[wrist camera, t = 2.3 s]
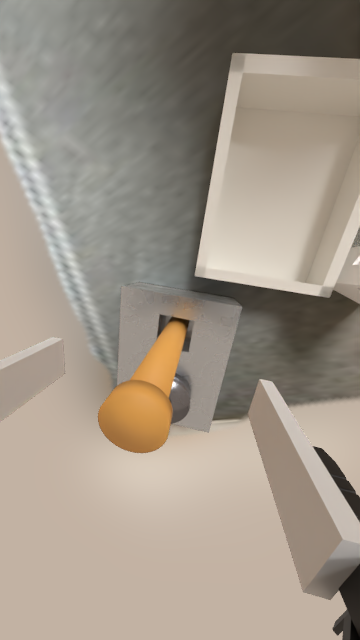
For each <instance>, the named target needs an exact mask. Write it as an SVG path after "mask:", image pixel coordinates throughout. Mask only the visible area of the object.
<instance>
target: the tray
mask: <svg viewBox="0 0 360 640" xmlns="http://www.w3.org/2000/svg"><path fill="white" fill-rule="evenodd" d="M359 227H360V59H349V58H328V57H308V56H287V55H267V54H246V53H232V59H231V65H230V71H229V76H228V82H227V88H226V94H225V100H224V106H223V112H222V118H221V124H220V129H219V135H218V141H217V147H216V153H215V159H214V165H213V171H212V176H211V182H210V188H209V194H208V200H207V206H206V212H205V218H204V224H203V229H202V235H201V241H200V247H199V253H198V259H197V265H196V271H195V276H197V277H203V278H209V279H215V280H222V281H228V282H234V283H240V284H246V285H252V286H259V287H265V288H271V289H277V290H283V291H290V292H296V293H302V294H308V295H314V296H321V297H327V298H330V296H331V293H332V291H333V289H334V286H335V284H336V281H337V279H338V277H339V274H340V272H341V270H342V267H343V265H344V262H345V260H346V258H347V255H348V253H349V251H350V248H351V246H352V243H353V241H354V239H355V236H356V234H357V232H358V229H359Z"/></svg>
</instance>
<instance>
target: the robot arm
mask: <svg viewBox="0 0 360 640" xmlns="http://www.w3.org/2000/svg"><path fill="white" fill-rule="evenodd" d="M64 374H65V364H64V347H63V339H61V338H55V337H52V338H49V339H47V340H45V341H43V342H40V343H38V344H36V345H33V346H31V347H29V348H27V349H24V350H22V351H20V352H18V353H15V354H13V355H11V356H8V357H6V358H4V359H2V360H0V422H1V421H2V420H4V419H5V418H6V417H8V416H9V415H10V414H12V413H13V412H14V411H16V410H17V409H18V408H20V407H21V406H22V405H24V404H25V403H26V402H28V401H29V400H30V399H32V398H33V397H34V396H36V395H37V394H38V393H40V392H41V391H42V390H44V389H45V388H46V387H48V386H49V385H50V384H52V383H53V382H54V381H56V380H57V379H58V378H60V377H61V376H62V375H64ZM248 416H249V419H250V422H251V426H252V429H253V432H254V435H255V439H256V442H257V445H258V448H259V452H260V455H261V458H262V461H263V464H264V468H265V471H266V474H267V477H268V481H269V484H270V487H271V490H272V493H273V496H274V500H275V503H276V506H277V509H278V513H279V516H280V519H281V522H282V526H283V529H284V532H285V535H286V538H287V541H288V545H289V548H290V551H291V555H292V558H293V561H294V564H295V567H296V571H297V574H298V577H299V580H300V583H301V587H302V590H303V592H305V593H308V594H312V595H315V596H319V597H322V598H325V599H328V600H331V599H332V597H333V596H334V595H335V594H336V593H337V592H338V591H340V593H341V595H342V598H343V600H344V602H345V605H346V607H347V610H346V611H345V612H344V613H343V615H341V616H340V617H339V619H338V620H337V621H336V622H335V625H334V627H333V631H334V632H335V633H336V634H337V635H339V634H340V633H341V632H342V631H343V640H360V497H359V496H358V495H356V492H355V490H354V489H353V487H352V486H351V484H350V483H349V481H347V480H346V477H345V475H344V474H343V472H342V471H341V470H340V468H339V467H338V465H337V464H336V462H335V461H334V460H333V459H332V458H331V457H330V456H329V455H328V454H327V453H326V452H325V451H324V450H323V449H322V448H318V447H314V446H312V445H311V443H310V442H309V440H308V438H307V437H306V435H305V434H304V432H303V430H302V429H301V427H300V425H299V424H298V422H297V421H296V419H295V417H294V416H293V414H292V413H291V411H290V409H289V408H288V406H287V404H286V403H285V401H284V400H283V398H282V396H281V395H280V393H279V392H278V390H277V388H276V387H275V385H274V384H273V382H272V381H267V380H262V379H259V382H258V385H257V388H256V391H255V394H254V397H253V400H252V403H251V406H250V409H249V412H248Z"/></svg>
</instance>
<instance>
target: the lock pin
mask: <svg viewBox="0 0 360 640" xmlns="http://www.w3.org/2000/svg"><path fill="white" fill-rule="evenodd" d="M188 326H189V320H187V319H182V318H177V317H171V319H170V320H169V322H168V323H167V325H166V326H165V328H164V329H163V331H162V332H161V334H160V335H159V337H158V338H157V340H156V341H155V343H154V344H153V346H152V347H151V349H150V350H149V352H148V353H147V355H146V356H145V358H144V359H143V361H142V362H141V364H140V365H139V367H138V368H137V370H136V371H135V373H134V374H133V376H132V377H131V379H130V380H129V381H125V382H122V383H120V384H119V385H117V386H116V387H115V388H114V390H113V391H112V392H111V394H110V395H109V396H108V398H107V399H106V400H105V402H104V403H103V404H102V406H101V407H100V410H99V413H98V422H99V426H100V428H101V430H102V432H103V433H104V435H105V436H106V437H107V438H108V439H109V440H110V441H111V442H112V443H114V444H115V445H116V446H118V447H120V448H122V449H124V450H127V451H130V452H135V453H148V452H152V451H155V450H156V449H159V448H160V447H161V446H162V445H163V444H164V443H165V441H166V440H167V437H168V433H169V429H170V424H171V420H172V414H173V409H172V404H171V402H170V400H169V395H170V391H171V388H172V384H173V380H174V377H175V373H176V370H177V366H178V362H179V359H180V355H181V351H182V348H183V344H184V340H185V337H186V333H187V329H188Z"/></svg>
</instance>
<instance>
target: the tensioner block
mask: <svg viewBox="0 0 360 640" xmlns="http://www.w3.org/2000/svg"><path fill="white" fill-rule="evenodd" d="M241 310H242V306H241V305H240V304H239V303H238V302H237V301H236V300H235V299H234V298H230V297H224V296H218V295H212V294H206V293H200V292H195V291H189V290H183V289H177V288H171V287H165V286H159V285H153V284H147V283H141V282H138V283H133V284H128V285H124V286H121V305H120V329H119V352H118V375H117V385H119V384H120V383H122V382H125V381H129V380H130V379H131V377H132V376H133V374H134V373H135V371H136V370H137V368H138V367H139V365H140V364H141V362H142V361H143V359H144V358H145V356H146V355H147V353H148V352H149V350H150V349H151V347H152V346H153V344H154V343H155V341H156V340H157V338H158V337H159V335H160V334H161V332H162V331H163V329H164V328H165V326H166V325H167V323H168V322H169V320H170V319H171V317H177V318H182V319H187V320H189V326H188V329H187V333H186V337H185V340H184V344H183V348H182V351H181V355H180V359H179V362H178V366H177V370H176V373H175V377H174V380H173V384H172V388H171V391H170V395H169V400H170V402H171V404H172V409H173V414H172V420H171V424H175V425H179V426H183V427H187V428H192V429H196V430H200V431H204V432H208V433H209V430H210V426H211V422H212V418H213V415H214V411H215V407H216V403H217V400H218V396H219V392H220V389H221V385H222V381H223V377H224V374H225V370H226V366H227V362H228V359H229V355H230V351H231V347H232V344H233V340H234V336H235V333H236V329H237V325H238V321H239V318H240V314H241Z"/></svg>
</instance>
